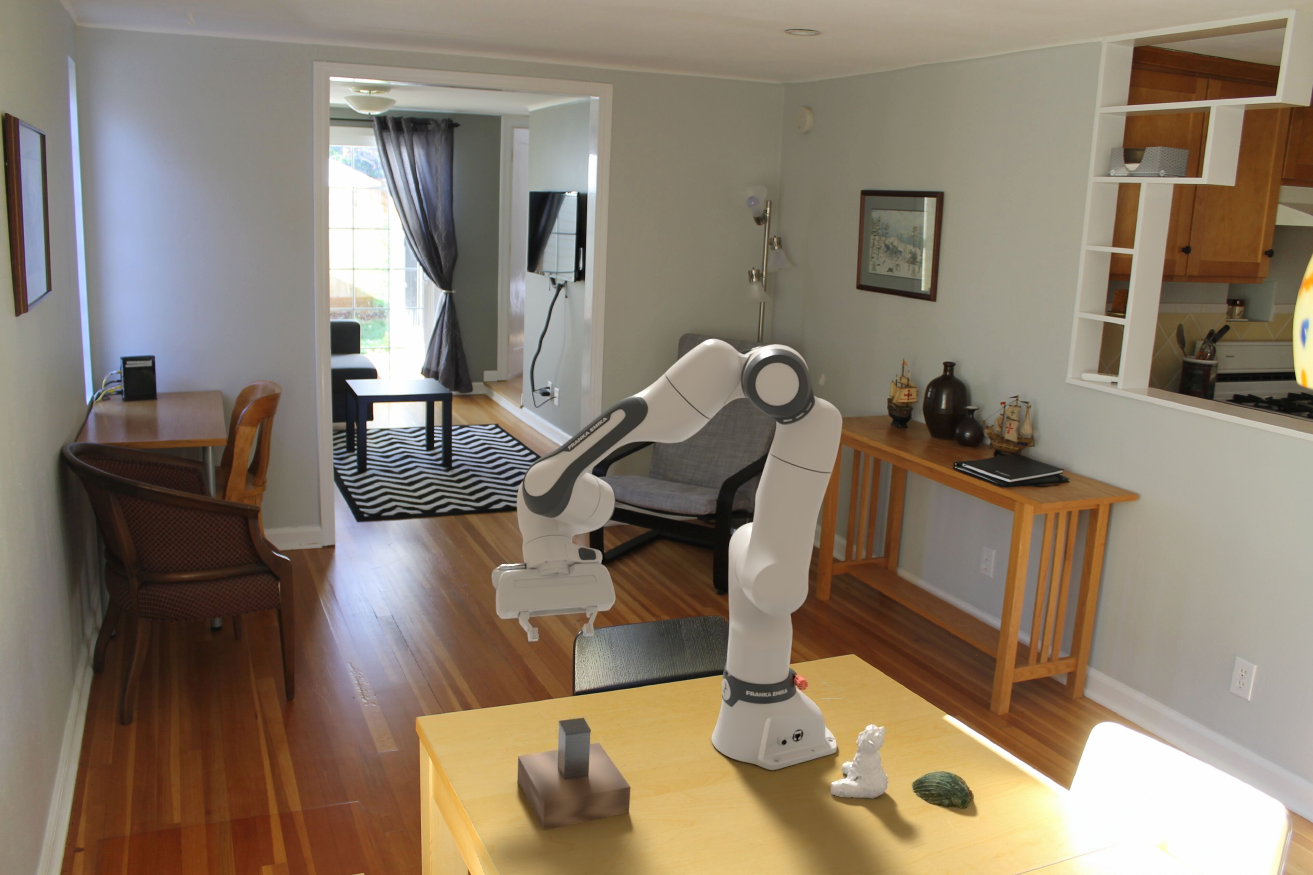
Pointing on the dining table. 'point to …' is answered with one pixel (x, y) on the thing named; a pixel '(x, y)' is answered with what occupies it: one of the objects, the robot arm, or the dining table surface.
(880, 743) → the seated beast figurine
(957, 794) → the seashell
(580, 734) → the grey tin
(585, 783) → the walnut block
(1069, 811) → the dining table surface
